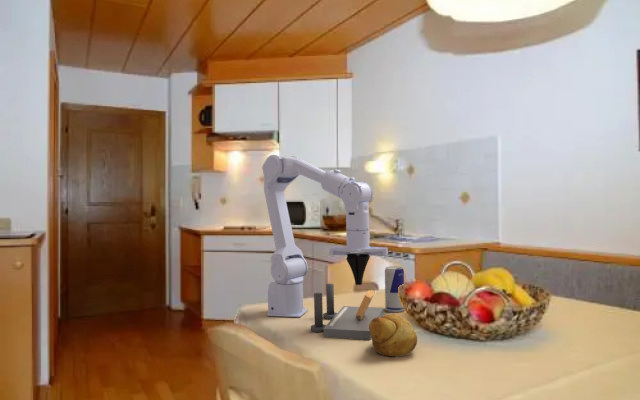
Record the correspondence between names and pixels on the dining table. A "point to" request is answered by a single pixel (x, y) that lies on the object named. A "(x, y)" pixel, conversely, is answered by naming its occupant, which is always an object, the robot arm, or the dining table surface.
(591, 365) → the dining table surface
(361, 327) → the panel
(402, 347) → the bread roll
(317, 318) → the post
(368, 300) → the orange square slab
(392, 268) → the energy drink
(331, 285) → the cord post far
